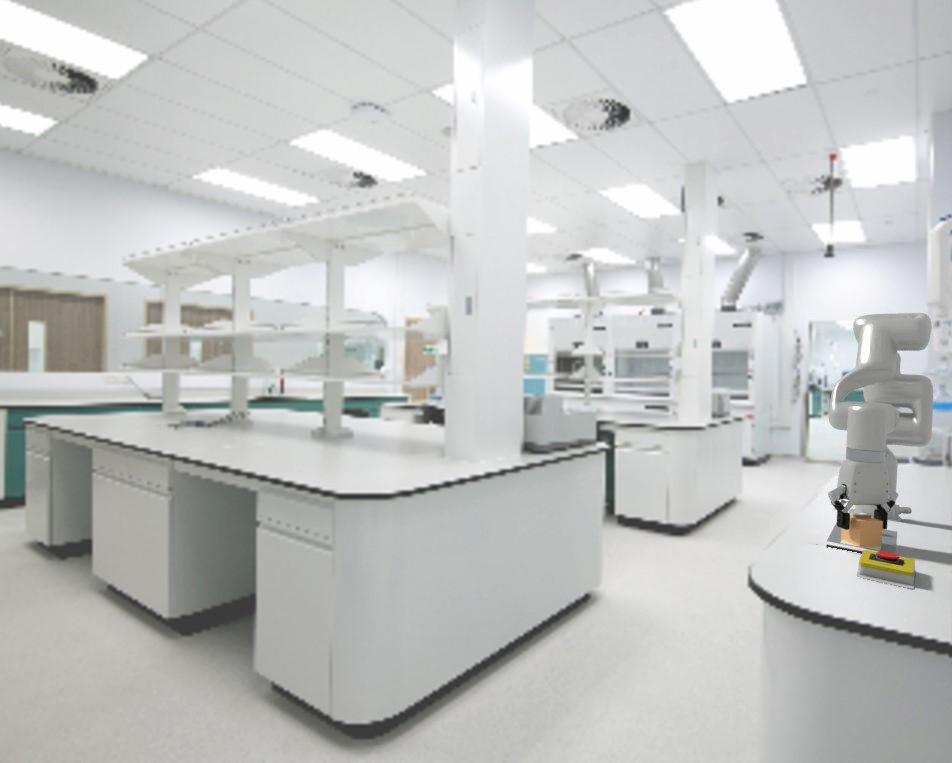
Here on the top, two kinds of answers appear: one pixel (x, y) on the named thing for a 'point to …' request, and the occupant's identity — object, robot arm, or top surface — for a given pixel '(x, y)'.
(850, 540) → the tan wooden cube
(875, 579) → the emergency button
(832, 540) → the base plate
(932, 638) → the top surface
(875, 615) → the top surface
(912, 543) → the top surface
